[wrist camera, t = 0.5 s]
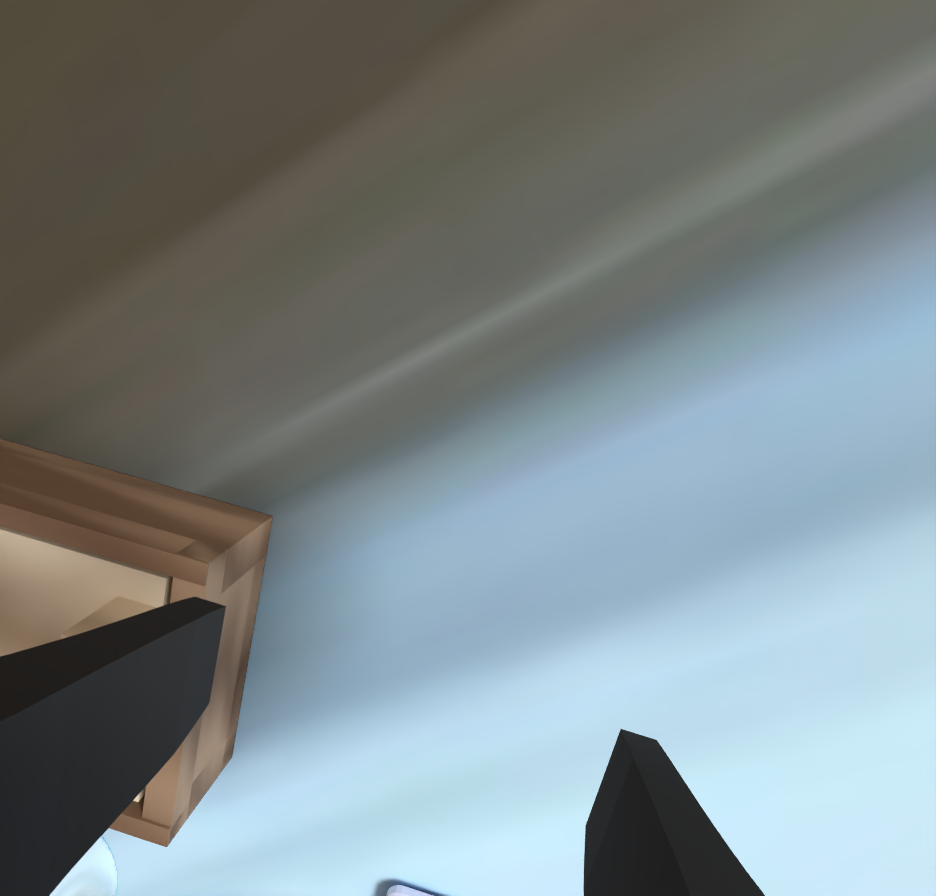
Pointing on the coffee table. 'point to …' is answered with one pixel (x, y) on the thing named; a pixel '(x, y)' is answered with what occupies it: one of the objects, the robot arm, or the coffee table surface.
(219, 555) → the box
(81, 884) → the beer glass
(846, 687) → the coffee table surface
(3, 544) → the lid
